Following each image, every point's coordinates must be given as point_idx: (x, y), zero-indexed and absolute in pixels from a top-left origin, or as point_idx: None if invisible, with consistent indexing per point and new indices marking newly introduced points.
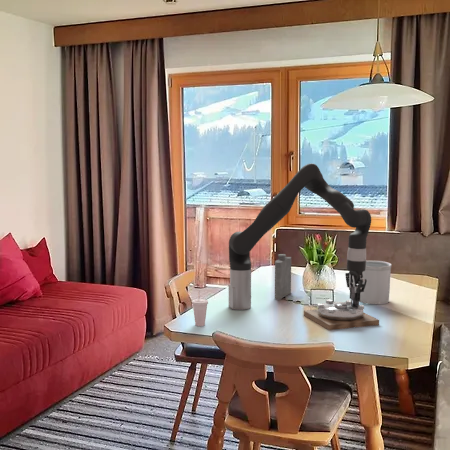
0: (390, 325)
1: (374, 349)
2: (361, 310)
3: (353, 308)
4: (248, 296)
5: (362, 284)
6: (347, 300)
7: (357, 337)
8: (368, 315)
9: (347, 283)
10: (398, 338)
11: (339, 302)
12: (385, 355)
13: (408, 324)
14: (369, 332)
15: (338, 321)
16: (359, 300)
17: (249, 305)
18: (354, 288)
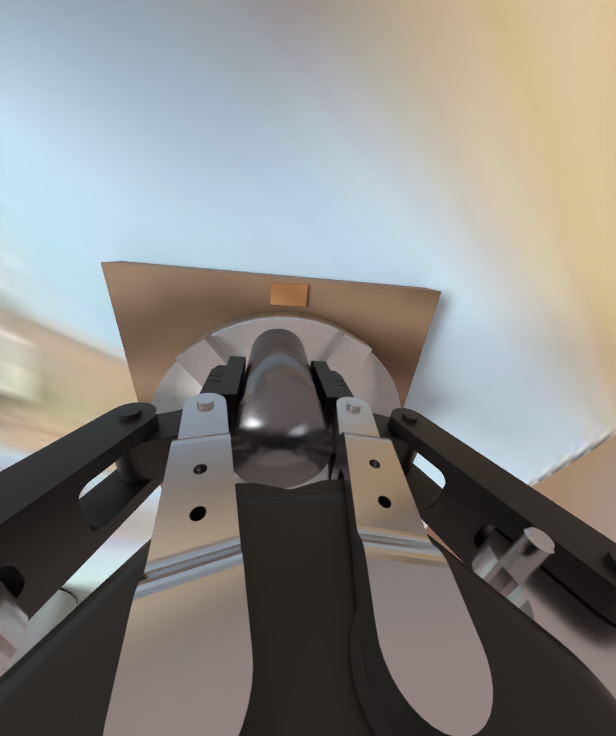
0: (464, 234)
1: (555, 446)
2: (386, 377)
3: None
4: (23, 655)
5: (492, 517)
6: (184, 368)
7: (467, 439)
8: (346, 290)
9: (118, 506)
10: (574, 331)
11: (170, 401)
12: (595, 444)
13: (527, 94)
14: (462, 384)
15: None
16: (324, 364)
17: (49, 602)
18: (311, 470)
